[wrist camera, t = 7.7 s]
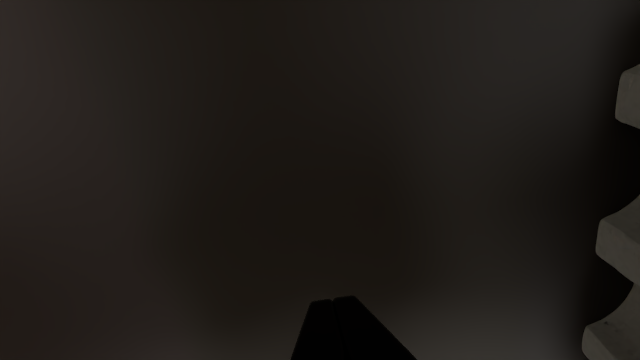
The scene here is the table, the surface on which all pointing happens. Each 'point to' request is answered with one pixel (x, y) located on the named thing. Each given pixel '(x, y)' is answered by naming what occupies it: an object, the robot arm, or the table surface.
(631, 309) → the egg carton
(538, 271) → the table surface
